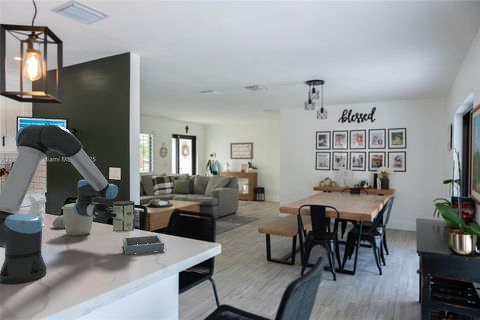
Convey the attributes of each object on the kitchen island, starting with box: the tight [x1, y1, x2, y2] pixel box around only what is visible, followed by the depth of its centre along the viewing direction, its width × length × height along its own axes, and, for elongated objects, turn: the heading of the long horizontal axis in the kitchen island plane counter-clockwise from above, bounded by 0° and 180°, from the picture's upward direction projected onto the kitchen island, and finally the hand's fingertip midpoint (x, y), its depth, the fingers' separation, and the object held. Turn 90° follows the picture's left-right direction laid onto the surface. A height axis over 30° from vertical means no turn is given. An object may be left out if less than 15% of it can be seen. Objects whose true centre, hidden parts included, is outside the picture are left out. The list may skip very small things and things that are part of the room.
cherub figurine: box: [28, 194, 47, 228], centre depth 212 cm, size 12×12×22 cm
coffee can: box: [112, 200, 135, 233], centre depth 162 cm, size 10×10×14 cm
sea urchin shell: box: [52, 214, 65, 229], centre depth 213 cm, size 13×14×8 cm
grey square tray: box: [122, 234, 165, 256], centre depth 164 cm, size 18×18×4 cm
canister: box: [61, 198, 94, 237], centre depth 194 cm, size 18×18×21 cm
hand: (130, 214), depth 160 cm, fingers closed on coffee can, 10 cm apart
